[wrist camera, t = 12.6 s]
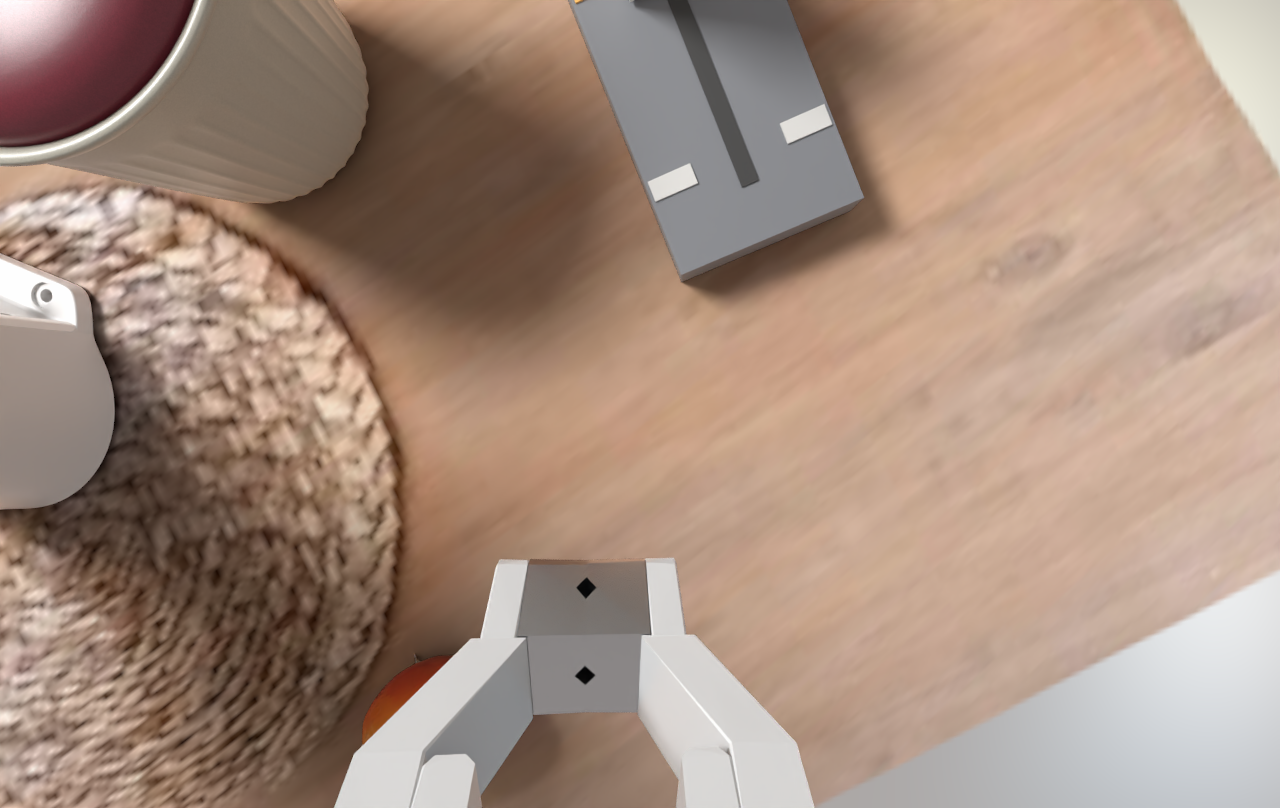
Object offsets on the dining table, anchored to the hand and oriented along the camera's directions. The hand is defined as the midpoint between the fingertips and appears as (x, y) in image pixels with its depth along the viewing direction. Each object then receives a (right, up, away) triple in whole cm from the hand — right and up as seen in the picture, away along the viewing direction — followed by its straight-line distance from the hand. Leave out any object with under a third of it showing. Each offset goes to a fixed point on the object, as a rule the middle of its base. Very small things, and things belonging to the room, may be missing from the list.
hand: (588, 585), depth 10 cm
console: (+4, +23, +26) cm, 35 cm away
